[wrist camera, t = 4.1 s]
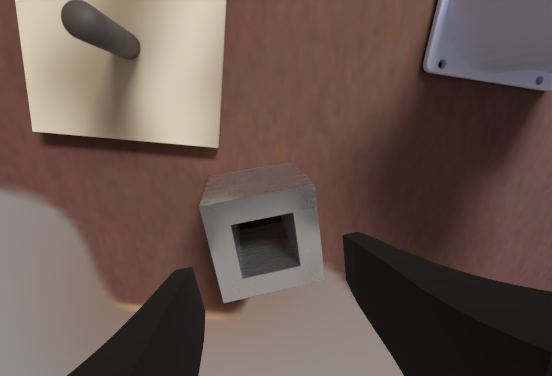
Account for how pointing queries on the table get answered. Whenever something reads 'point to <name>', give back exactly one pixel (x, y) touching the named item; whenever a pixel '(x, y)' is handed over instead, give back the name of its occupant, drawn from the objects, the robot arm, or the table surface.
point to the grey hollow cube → (262, 230)
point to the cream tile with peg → (125, 68)
